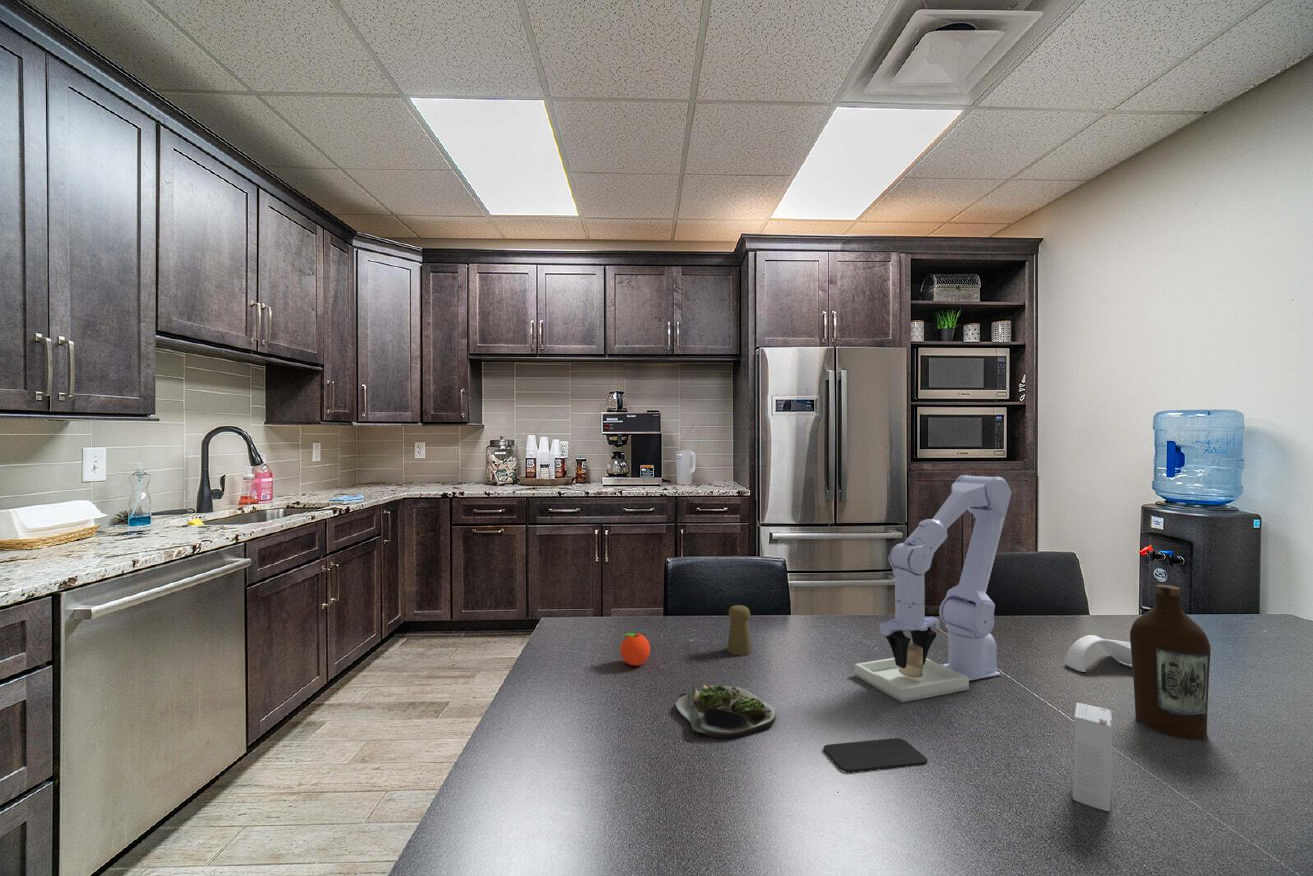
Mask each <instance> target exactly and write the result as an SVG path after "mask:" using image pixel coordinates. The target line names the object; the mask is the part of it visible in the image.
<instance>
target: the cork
mask: <svg viewBox="0 0 1313 876" xmlns="http://www.w3.org/2000/svg"><path fill="white" fill-rule="evenodd" d="M728 617H729V619H730V624H729V630H728V631H729V633H728V639H727V640H728V641H727V648H726V652H727V651H728V652H729V653H731V654H730V655H732V654H733V655H732V656H736V655H746V656H749V654H750V655H751V654H752V653H753V651H752V645H751V636H750V635H751V634H750V627H749V622H748V620H750V617H751V611H750V609H749V608H748V607H747V606H746V605H742V604H737V605H736V604H735V605H732V606H730V608H729V609H728ZM728 652H727V653H728ZM751 652H752V653H751ZM729 653H728V654H729Z"/></svg>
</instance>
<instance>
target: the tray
mask: <svg viewBox="0 0 1313 876" xmlns="http://www.w3.org/2000/svg"><path fill="white" fill-rule="evenodd" d="M854 676H855V677H857V678H859V679H860V680H862V681H864V682H866V683H867V684H869V685H870V686H872V687H874V688H876V689H877V690H879V691H881V692H882V693H884V694H886V695H888V696H889V697H891V696H892V697H891V698H894V699H895V700H897V701H898V702H900V703H907V702H911V701H917V700H921V699H927V698H928V699H929V698H932V697H933V698H934V697H937V696H943V695H948V694H953V692H954V693H957V692H958V691H959V692H964V691H969V690H970V681H969V677H967V676H965V675H963V674H960V673H958V672H956V671H954V670H952V669H949V668H947V667H945V666H943V665H942V664H940V663H939V662H935V661H934V660H932V659H929V658H927V657H926V661H925V664H924V665H923V676H922V677H918V678H914V677H908V676H905V675H902V674H901V673H900V672H899V666H897V665H896V663H895V659H894V657H891V658H885V659H878V660H873V661H872V660H871V661H866V662H865V661H863V662H858V663H855V664H854Z"/></svg>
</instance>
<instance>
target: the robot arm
mask: <svg viewBox="0 0 1313 876" xmlns="http://www.w3.org/2000/svg"><path fill="white" fill-rule="evenodd" d="M950 489H951V493H950V494H949V496H948V497H947V498H946V500H945V501H944V502H943V504H942V505H941V507H940V508H939V509H938V511H937V512H936V513H935V515H934V516H933V517H932V519H930V518H928V519H927V518H926V519H924V520H920V521H919V523H918V526H917V527H916V528H915V529H914V530H913V532H912V533H911V534H910V535H909V536H908V537H907V538H906V539H905V540H904V541H903V542H901V543H897V544H896V545H895V546H893V547H892V549H891V550H890V553H889V555H888V557H887V558H888V562H889V565H890V566H891V568H892V575H893V576H894V606H895V607H894V610H895V613H894V615H895V617H894V618H893V619H890V620H888V621H885V622H882V623H879V631H878V632H879V633H880V634H882V635H883V636H884V637H885V638H886V640H887V641H888V644H889V646H890V649H891V651H892V655H893V658H894V659H895V663H896V665H897V666H899V667H901V668H906V661H907V649H908V645H909V643H910V642H911V640H912V644H915V645H918V646H921V647H922V648H923V665H924V664H925V661H926V658H927V656H928V654H929V651H930V648H931V645H932V643H933V642H934V641H935V639H936V638H937V632H936V631H934V630H933V629H941V628H940V627H941V626H940V625H941V624H940V622H941V621H942V622H943V623H944V624H945V625H944V627H945V629H947V640H948V641H947V642H948V643H947V645H948V646H947V648H948V649H947V650H948V651H947V653H948V654H947V656H948V658H947V661H948V663H943V664H941V665H943V666H945V667H947V668H949V669H952V670H954V671H956V672H958V673H960V674H963V675H965V676H967V677H969V682H970V681H975V680H981V679H985V678H991V677H997V676H1000V675H1001V672H999V671H998V670H997V669H998V668H997V660H998V659H997V644H996V640H995V638H994V637H993V635H992V631H993V629H994V626H995V614H994V613H995V609H996V604H995V603H994V602H993V600H992V599H991V598H990V597H989V595H988V594H987V593H986V592H987V589H988V586H989V585H988V584H989V582H990V578H991V574H992V569H993V567H994V562H995V558H996V554H997V551H998V546H999V542H1000V538H1001V535H1002V530H1003V526H1004V523H1005V519H1006V516H1007V512H1008V508H1009V504H1010V499H1011V496H1012V490H1011V488H1010V486H1009V484H1008V483H1007V481H1006V479H1005V478H1003V477H1001V476H994V477H993V476H979V475H978V476H977V475H976V476H975V475H968V474H961V475H960V476H958V477H957V478H956V480H955V482H953V483H952V484H951V488H950ZM966 511H968V512H969V513H971V514H972V515H973V517H974V519H975V522H974V526H973V529H972V532H971V537H970V541H969V544H968V548H967V553H966V555H965V559H964V564H963V567H962V571H961V575H960V579H959V582H958V584H957V585H955V586H953V587H952V588H949V589H948V590H947V593H946V595H945V597H944V599H943V600H942V602H941V604H940V606H939V613H938V614H939V617H940V618H936V617H934V616H925V612H926V611H925V605H926V603H925V574H926V572H928V571H929V570H930V568H931V566H932V560H933V558H934V556H935V554H934V553H936V551H937V550H938V548H940V546H941V545H942V544H943V543H944V542H945V541H946V539H947V538H948V528H949V527H951V526H952V524H954V523H955V521H957V519H959V518H960V517H961V516H962V515H963V514H964V513H965V512H966ZM968 601H970V602H968ZM974 603H975V604H974ZM940 619H941V621H940ZM906 632H910V634H911V638H910V637H908V636H906V635H905V633H906Z"/></svg>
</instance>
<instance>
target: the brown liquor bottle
mask: <svg viewBox="0 0 1313 876" xmlns="http://www.w3.org/2000/svg"><path fill="white" fill-rule="evenodd" d="M1155 590H1156V592H1155V596H1154V597H1155V605H1154V606H1153V607H1152V608H1150V609H1149V610H1147V611H1146V612H1145V613H1143V614H1141V615H1140V616H1139V617H1137V618H1136V619H1135V620H1134V621H1133V623H1132V625H1131V627H1130V631H1129V642H1130V643H1131V655H1132V667H1131V668H1132V676H1133V678H1132V679H1133V690H1134V691H1133V693H1134V695H1133V697H1134V714H1135V715H1134V716H1135V719H1136V721H1138V722H1139V723H1140V724H1142V725H1143V724H1144V727H1147V728H1149V729H1151V728H1152V729H1151V730H1153V729H1154V730H1153V731H1156V732H1157V733H1161V732H1162V733H1161V734H1165V735H1168V736H1171V737H1177V738H1180V737H1181V739H1190V740H1200V739H1203V738H1205V737H1207V736H1208V711H1209V710H1208V708H1209V707H1208V705H1209V703H1208V702H1209V701H1208V700H1209V687H1210V686H1209V685H1210V684H1209V683H1210V682H1209V681H1210V667H1211V666H1210V663H1211V644H1210V641H1209V638H1208V636H1207V634H1206V633H1205V631H1204V630H1203V628H1201V627H1200V625H1198V624H1197V622H1195V621H1194V620H1193V619H1192V618H1191V617H1189V616H1188V615H1187V613H1186V612H1184V610H1183V609H1182V606H1181V605H1182V596H1181V595H1180V593H1181V588H1180V587H1177V586H1174V585H1168V584H1156V586H1155Z"/></svg>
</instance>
